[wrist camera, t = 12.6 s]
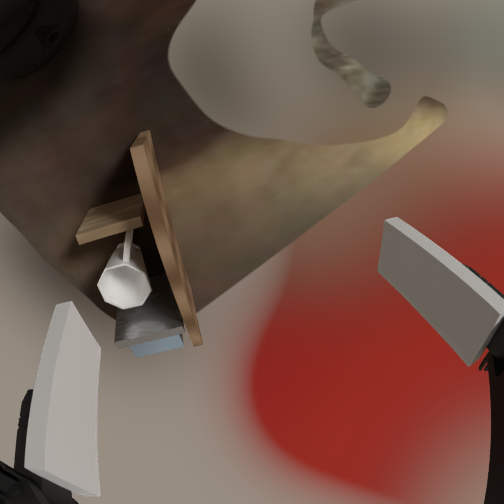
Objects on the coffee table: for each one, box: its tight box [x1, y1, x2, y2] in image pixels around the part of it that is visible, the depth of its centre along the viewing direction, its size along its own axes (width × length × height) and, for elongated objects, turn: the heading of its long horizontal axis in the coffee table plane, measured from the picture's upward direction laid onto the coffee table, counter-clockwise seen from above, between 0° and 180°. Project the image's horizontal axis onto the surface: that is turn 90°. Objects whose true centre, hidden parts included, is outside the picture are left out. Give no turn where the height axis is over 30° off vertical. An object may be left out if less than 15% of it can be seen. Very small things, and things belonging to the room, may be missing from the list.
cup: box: [97, 229, 152, 309], centre depth 36 cm, size 7×10×8 cm
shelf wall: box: [130, 130, 203, 347], centre depth 34 cm, size 25×1×12 cm, turn 7°
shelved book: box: [129, 334, 184, 358], centre depth 39 cm, size 3×7×11 cm, turn 97°
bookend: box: [115, 273, 185, 348], centre depth 38 cm, size 2×9×12 cm, turn 97°
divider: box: [76, 194, 145, 245], centre depth 32 cm, size 1×8×8 cm, turn 97°
